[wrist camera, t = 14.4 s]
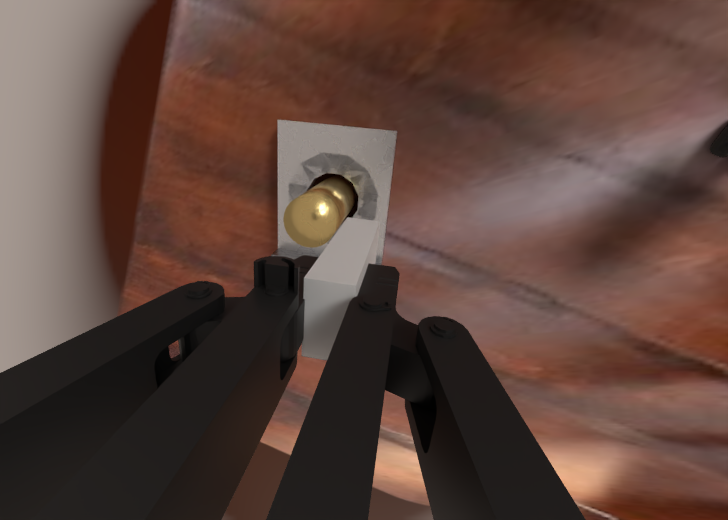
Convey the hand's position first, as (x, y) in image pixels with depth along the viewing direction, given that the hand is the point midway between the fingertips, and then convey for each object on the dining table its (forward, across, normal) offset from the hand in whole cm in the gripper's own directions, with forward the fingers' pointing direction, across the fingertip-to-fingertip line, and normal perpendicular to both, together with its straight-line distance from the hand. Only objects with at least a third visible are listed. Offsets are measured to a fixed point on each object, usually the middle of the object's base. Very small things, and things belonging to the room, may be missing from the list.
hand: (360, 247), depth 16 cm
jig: (+23, -6, -3) cm, 24 cm away
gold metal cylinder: (+23, -6, -3) cm, 24 cm away
